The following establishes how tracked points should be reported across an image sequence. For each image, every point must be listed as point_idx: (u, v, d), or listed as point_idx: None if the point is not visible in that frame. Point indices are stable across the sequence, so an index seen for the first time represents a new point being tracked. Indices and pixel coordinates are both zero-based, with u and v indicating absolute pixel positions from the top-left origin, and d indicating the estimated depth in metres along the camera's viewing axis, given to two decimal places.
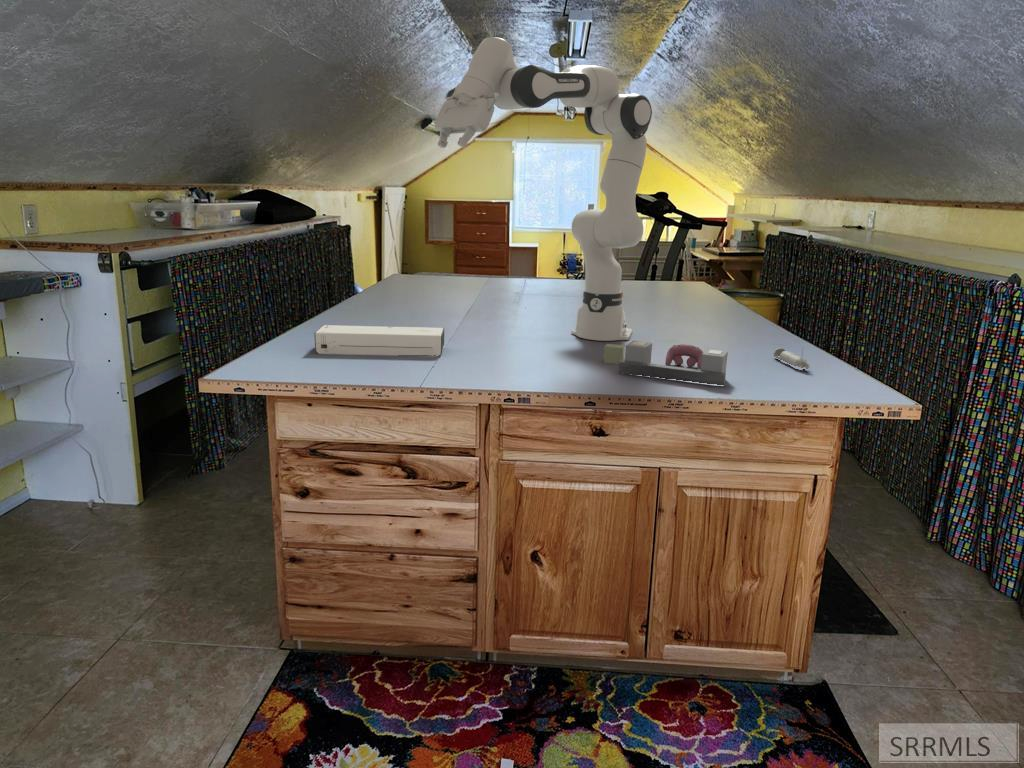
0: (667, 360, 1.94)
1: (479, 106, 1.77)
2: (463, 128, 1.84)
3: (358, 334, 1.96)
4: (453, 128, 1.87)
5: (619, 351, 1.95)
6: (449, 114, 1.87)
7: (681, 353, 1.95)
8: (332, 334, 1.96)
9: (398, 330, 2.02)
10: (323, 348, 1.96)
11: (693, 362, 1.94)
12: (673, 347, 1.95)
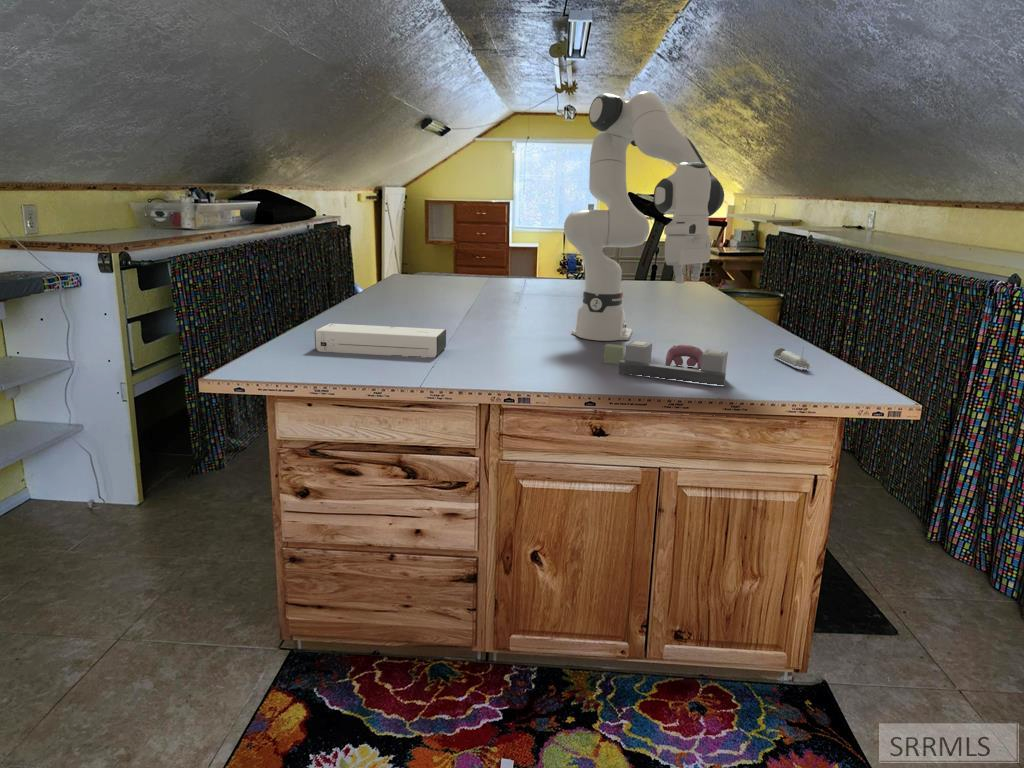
0: (667, 361, 1.93)
1: (708, 244, 1.93)
2: None
3: (356, 333, 1.97)
4: None
5: (619, 351, 1.95)
6: (688, 251, 1.84)
7: (681, 353, 1.94)
8: (331, 332, 1.98)
9: (398, 330, 2.01)
10: (323, 346, 1.99)
11: (693, 362, 1.94)
12: (673, 347, 1.95)
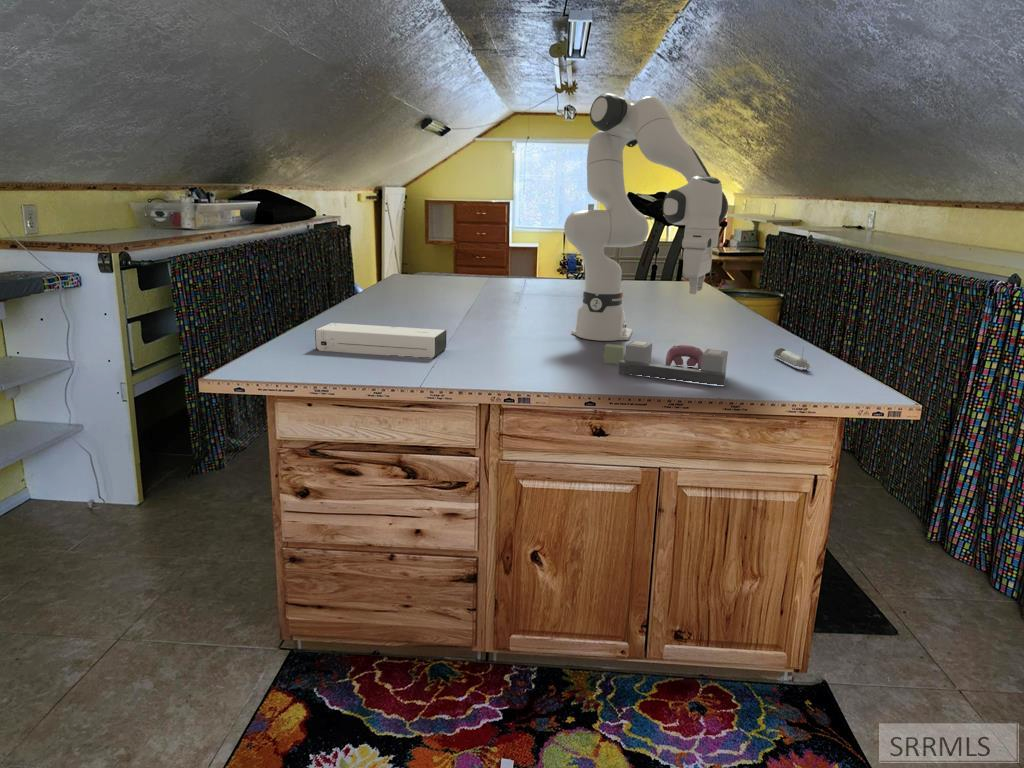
0: (667, 361, 1.93)
1: (711, 255, 2.01)
2: None
3: (355, 333, 1.98)
4: None
5: (619, 351, 1.95)
6: (702, 263, 1.90)
7: (681, 354, 1.94)
8: (331, 332, 1.99)
9: (397, 330, 2.01)
10: (323, 345, 2.00)
11: (693, 363, 1.94)
12: (673, 348, 1.95)
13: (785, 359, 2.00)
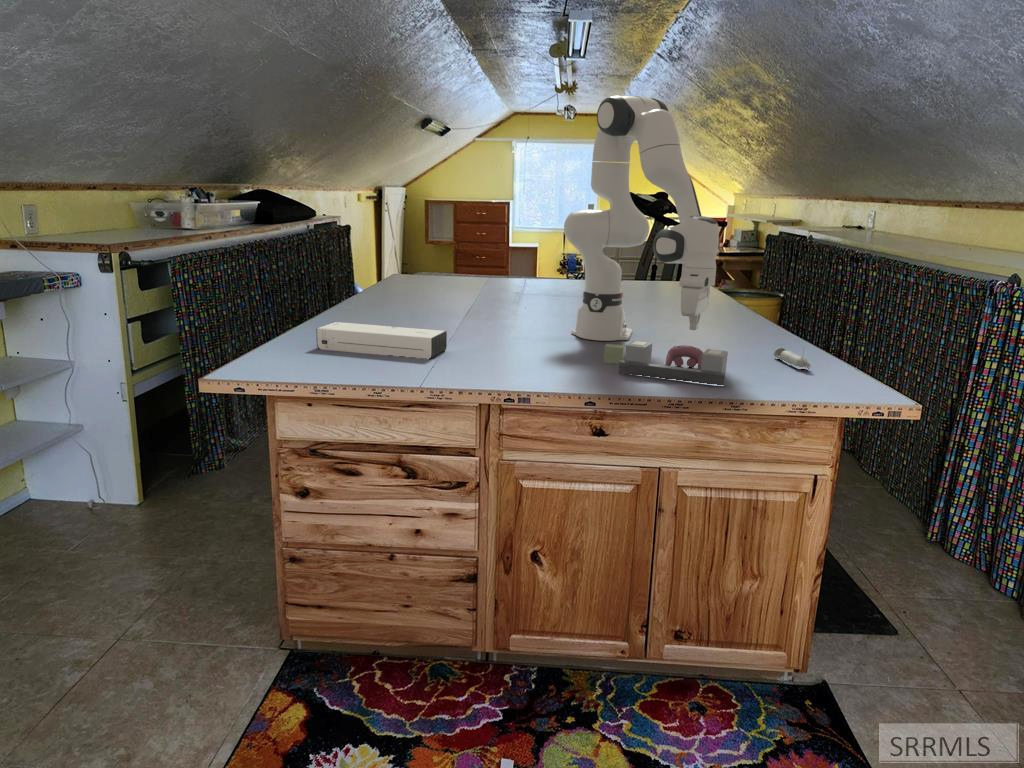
0: (667, 361, 1.93)
1: (709, 293, 2.03)
2: None
3: (355, 332, 1.98)
4: None
5: (619, 351, 1.95)
6: (699, 302, 1.92)
7: (681, 354, 1.94)
8: (332, 331, 2.00)
9: (397, 330, 2.01)
10: (324, 344, 2.01)
11: (693, 363, 1.93)
12: (673, 348, 1.94)
13: (785, 359, 2.00)
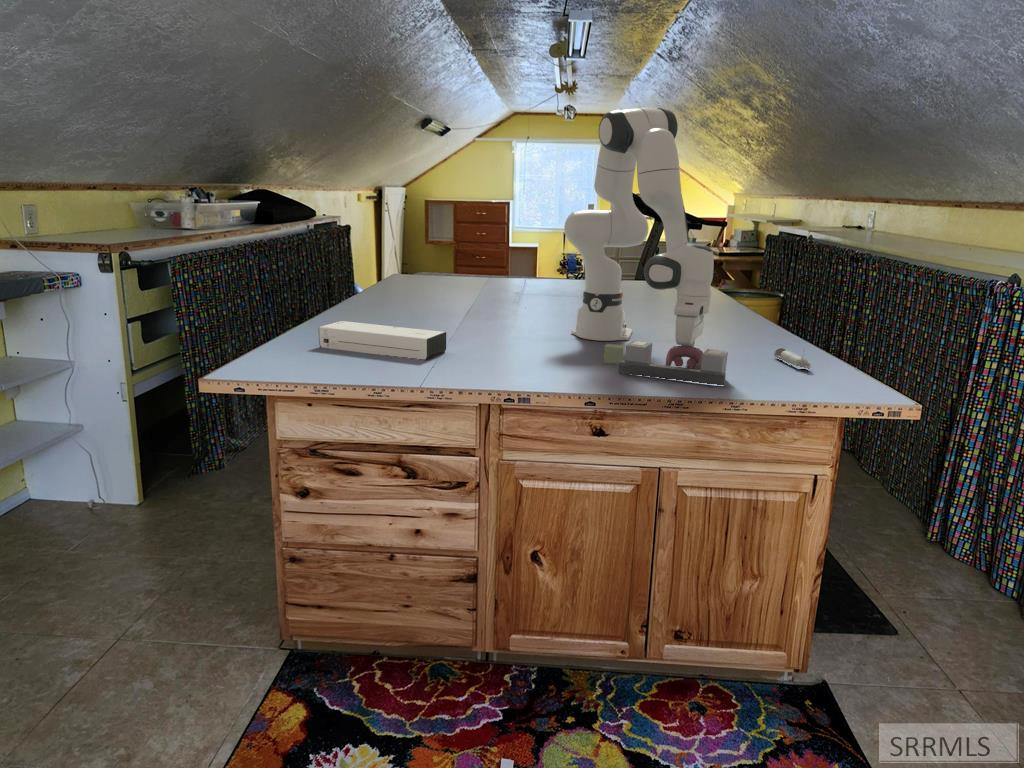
0: (667, 361, 1.92)
1: None
2: None
3: (354, 331, 1.99)
4: None
5: (619, 351, 1.95)
6: (694, 330, 1.91)
7: (681, 354, 1.93)
8: (333, 329, 2.02)
9: (396, 330, 2.01)
10: (325, 342, 2.03)
11: (693, 363, 1.93)
12: (673, 348, 1.94)
13: (785, 359, 2.00)
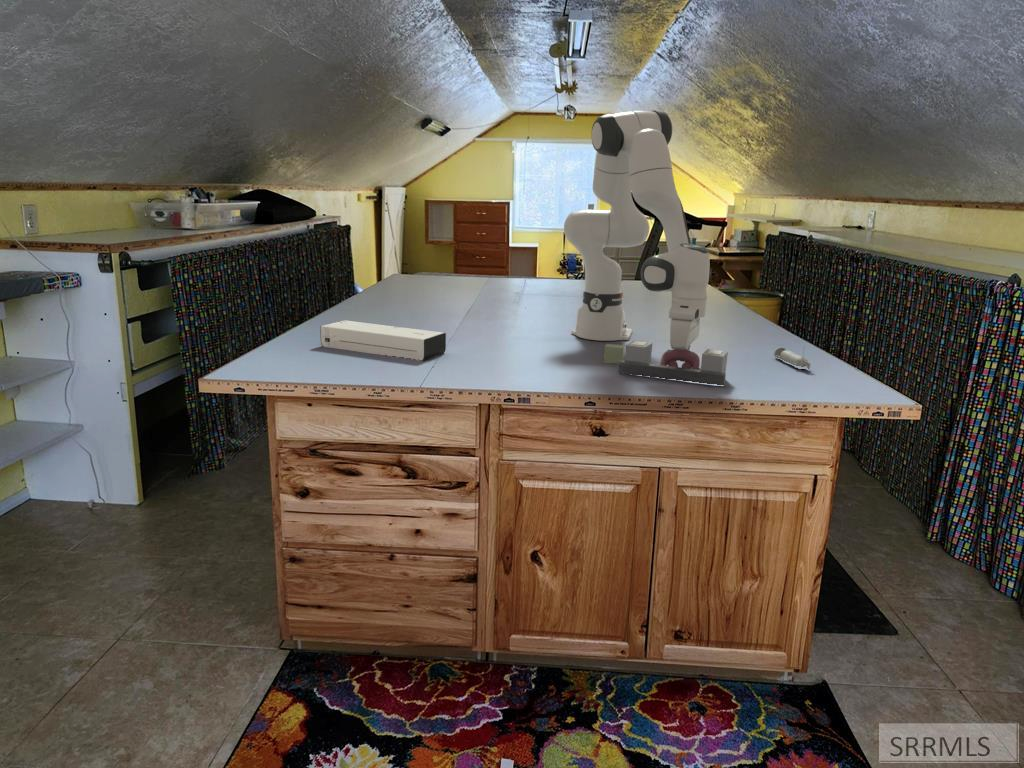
0: None
1: (699, 321, 1.96)
2: None
3: (354, 331, 2.00)
4: None
5: (619, 351, 1.95)
6: (690, 333, 1.86)
7: (676, 358, 1.88)
8: (334, 329, 2.03)
9: (396, 331, 2.01)
10: (326, 341, 2.04)
11: (688, 367, 1.87)
12: (667, 352, 1.88)
13: (786, 359, 2.00)
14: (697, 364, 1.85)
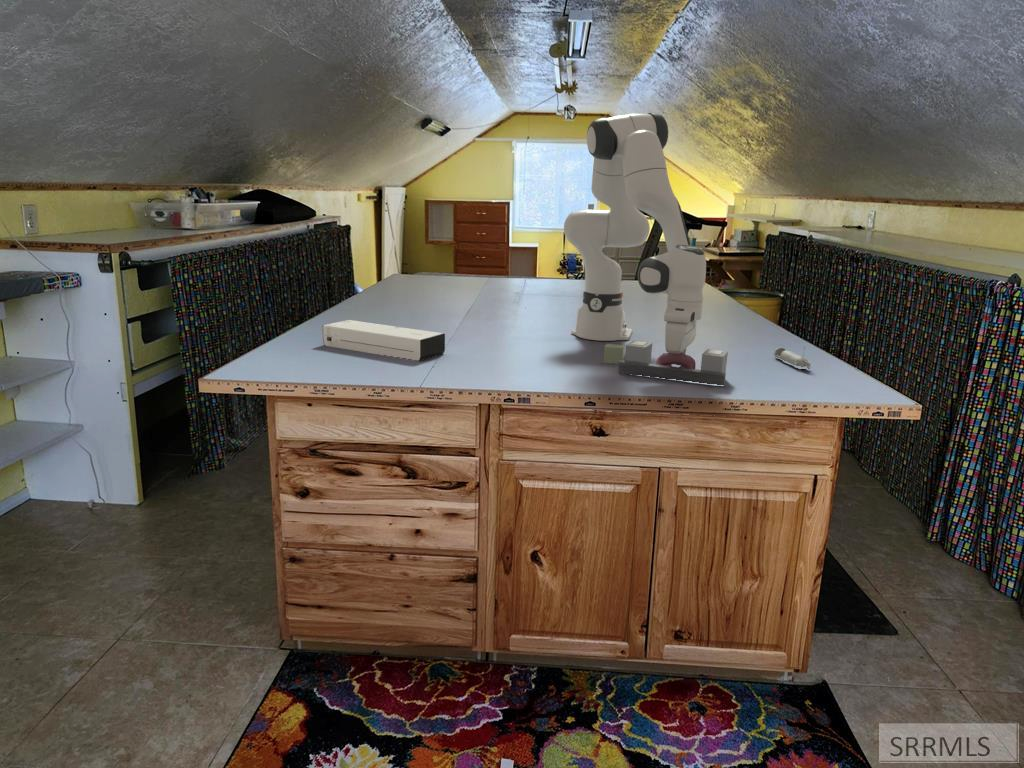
0: None
1: (695, 324, 1.92)
2: None
3: (354, 330, 2.01)
4: None
5: (619, 351, 1.95)
6: (685, 337, 1.82)
7: (671, 362, 1.84)
8: (335, 328, 2.04)
9: (396, 331, 2.00)
10: (328, 341, 2.06)
11: None
12: (663, 355, 1.84)
13: (786, 359, 2.01)
14: (693, 368, 1.81)
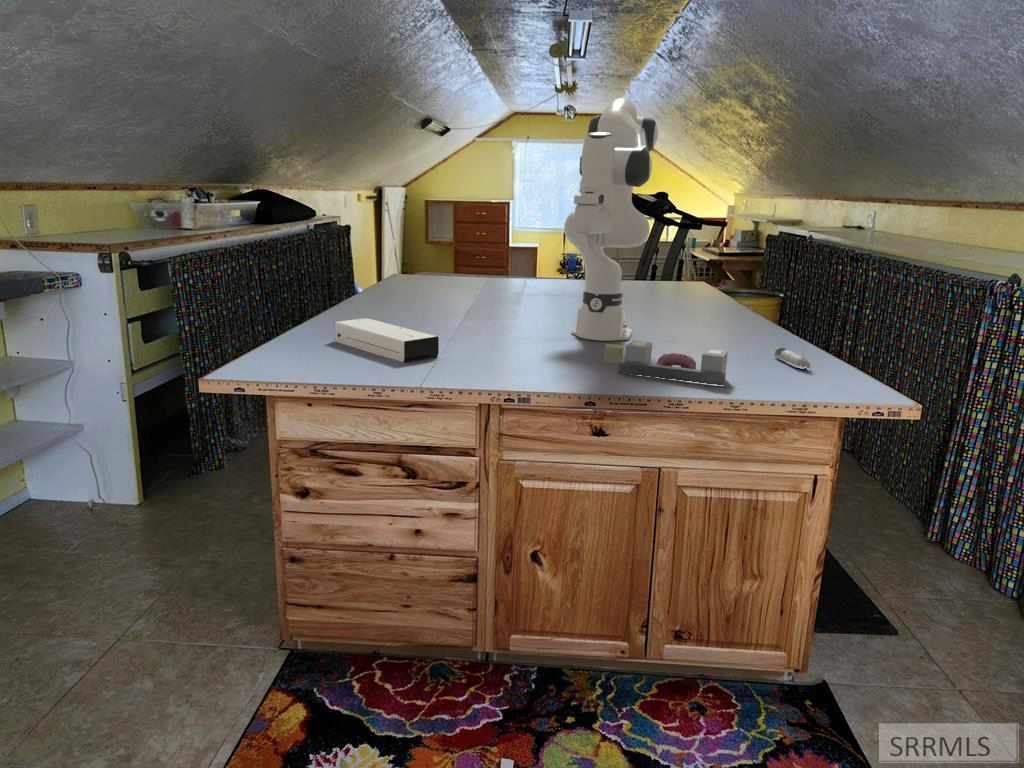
0: None
1: (610, 214, 1.99)
2: None
3: (357, 328, 2.03)
4: None
5: (619, 351, 1.95)
6: (596, 220, 1.88)
7: (672, 362, 1.84)
8: (343, 325, 2.08)
9: (394, 331, 2.00)
10: (338, 337, 2.11)
11: None
12: (663, 356, 1.84)
13: (786, 358, 2.01)
14: (693, 368, 1.81)
